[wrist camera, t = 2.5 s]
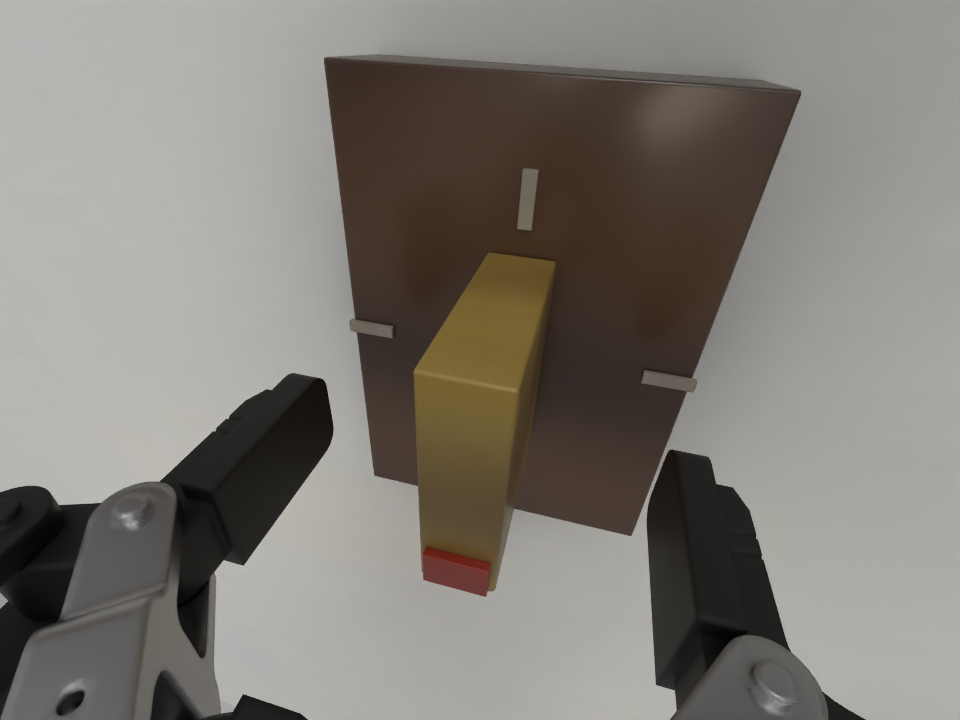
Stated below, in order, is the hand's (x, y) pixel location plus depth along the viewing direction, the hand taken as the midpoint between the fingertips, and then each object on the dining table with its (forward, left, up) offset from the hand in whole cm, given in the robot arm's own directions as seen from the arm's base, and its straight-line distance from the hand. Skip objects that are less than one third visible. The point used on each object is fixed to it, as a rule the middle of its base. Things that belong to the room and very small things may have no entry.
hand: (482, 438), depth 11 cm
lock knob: (0, 0, -4) cm, 4 cm away
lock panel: (0, 0, -7) cm, 7 cm away
